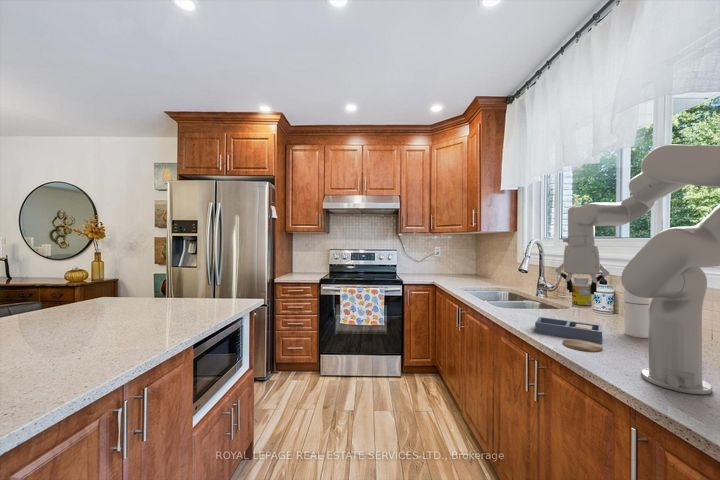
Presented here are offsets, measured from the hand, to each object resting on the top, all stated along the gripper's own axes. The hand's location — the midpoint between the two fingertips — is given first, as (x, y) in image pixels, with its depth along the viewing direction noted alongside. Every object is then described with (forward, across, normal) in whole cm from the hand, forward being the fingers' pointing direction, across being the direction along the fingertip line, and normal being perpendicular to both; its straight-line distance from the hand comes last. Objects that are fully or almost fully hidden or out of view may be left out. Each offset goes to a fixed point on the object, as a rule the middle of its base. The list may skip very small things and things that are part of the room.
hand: (581, 292), depth 104 cm
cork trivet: (+19, 0, 0) cm, 19 cm away
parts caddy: (+19, -5, +14) cm, 24 cm away
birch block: (+19, 0, +14) cm, 24 cm away
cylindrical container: (+19, +16, +29) cm, 38 cm away
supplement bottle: (+5, 0, 0) cm, 5 cm away
